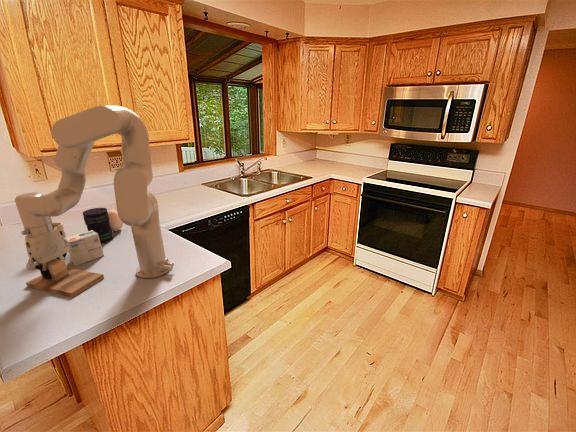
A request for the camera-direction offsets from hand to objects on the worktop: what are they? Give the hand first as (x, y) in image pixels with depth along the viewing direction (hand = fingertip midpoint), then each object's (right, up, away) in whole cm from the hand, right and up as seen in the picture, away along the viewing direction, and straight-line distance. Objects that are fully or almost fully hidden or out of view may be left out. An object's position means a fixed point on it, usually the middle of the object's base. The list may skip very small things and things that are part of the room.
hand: (55, 274), depth 105 cm
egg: (-4, +13, +44) cm, 47 cm away
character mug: (-16, +5, +22) cm, 28 cm away
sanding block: (0, -1, 0) cm, 1 cm away
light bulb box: (0, +3, +17) cm, 17 cm away
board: (+4, -3, 0) cm, 5 cm away
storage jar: (-4, +9, +34) cm, 35 cm away
